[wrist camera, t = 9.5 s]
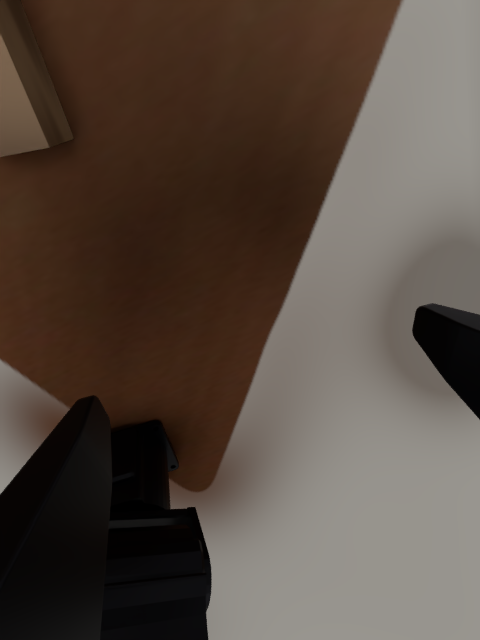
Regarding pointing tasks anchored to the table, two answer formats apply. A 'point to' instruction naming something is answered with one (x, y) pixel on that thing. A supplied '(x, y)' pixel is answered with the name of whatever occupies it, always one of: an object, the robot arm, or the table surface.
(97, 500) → the robot arm
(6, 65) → the brown wooden block
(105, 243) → the table surface
